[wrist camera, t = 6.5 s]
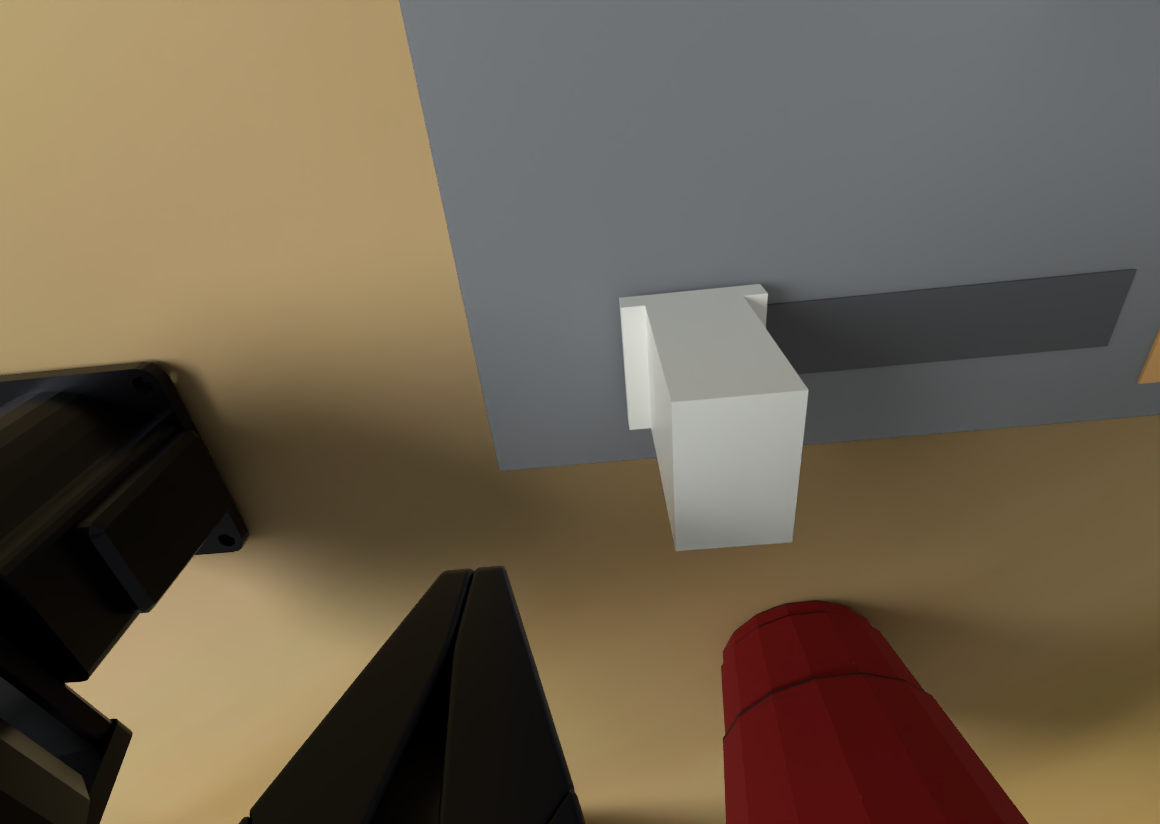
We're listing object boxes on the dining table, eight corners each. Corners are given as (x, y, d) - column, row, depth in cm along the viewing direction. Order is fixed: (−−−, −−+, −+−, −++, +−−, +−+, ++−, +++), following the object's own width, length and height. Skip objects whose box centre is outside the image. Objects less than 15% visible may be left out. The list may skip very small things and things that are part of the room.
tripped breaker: (627, 416, 14) (646, 553, 10) (619, 297, 13) (637, 405, 9) (753, 405, 14) (821, 540, 10) (760, 283, 13) (843, 386, 9)
